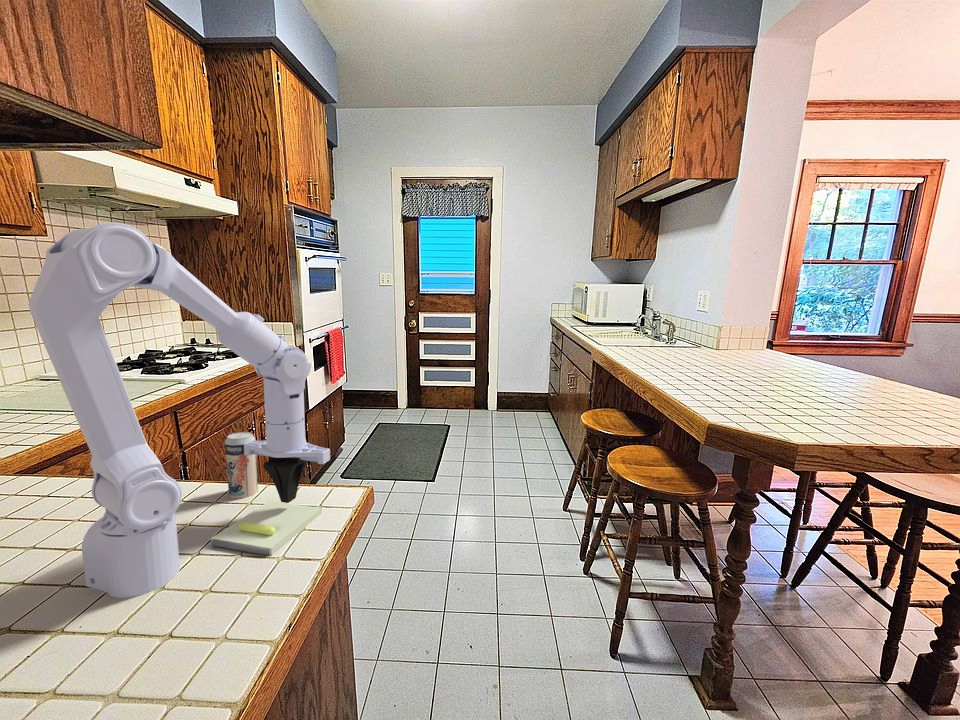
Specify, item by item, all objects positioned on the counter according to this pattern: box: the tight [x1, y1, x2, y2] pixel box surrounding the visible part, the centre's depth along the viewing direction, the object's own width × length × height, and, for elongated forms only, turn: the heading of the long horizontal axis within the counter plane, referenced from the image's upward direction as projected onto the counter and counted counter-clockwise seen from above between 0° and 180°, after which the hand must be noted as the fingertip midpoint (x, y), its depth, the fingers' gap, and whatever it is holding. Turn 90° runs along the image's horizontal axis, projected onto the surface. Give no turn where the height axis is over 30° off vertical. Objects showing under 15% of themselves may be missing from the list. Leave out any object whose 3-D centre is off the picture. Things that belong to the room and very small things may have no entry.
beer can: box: [224, 431, 259, 500], centre depth 76 cm, size 5×5×12 cm
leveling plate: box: [210, 500, 323, 556], centre depth 65 cm, size 10×12×2 cm
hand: (288, 499), depth 69 cm, fingers closed
